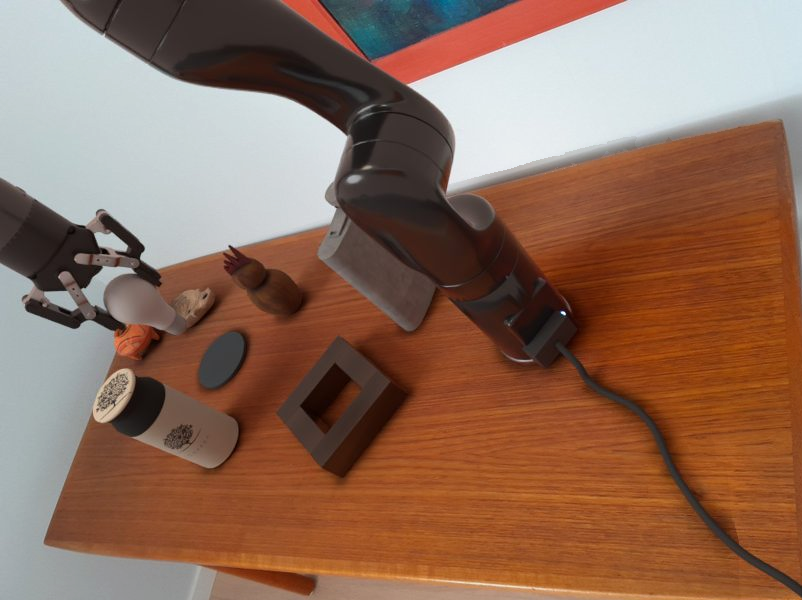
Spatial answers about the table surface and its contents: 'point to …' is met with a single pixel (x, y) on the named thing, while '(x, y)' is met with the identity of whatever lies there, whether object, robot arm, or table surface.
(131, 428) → the travel mug
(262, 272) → the wooden figurine
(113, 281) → the lightbulb
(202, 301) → the oil lamp
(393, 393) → the bulb stand
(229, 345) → the coaster
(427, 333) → the table surface
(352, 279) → the hip flask
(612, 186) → the table surface
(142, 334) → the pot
